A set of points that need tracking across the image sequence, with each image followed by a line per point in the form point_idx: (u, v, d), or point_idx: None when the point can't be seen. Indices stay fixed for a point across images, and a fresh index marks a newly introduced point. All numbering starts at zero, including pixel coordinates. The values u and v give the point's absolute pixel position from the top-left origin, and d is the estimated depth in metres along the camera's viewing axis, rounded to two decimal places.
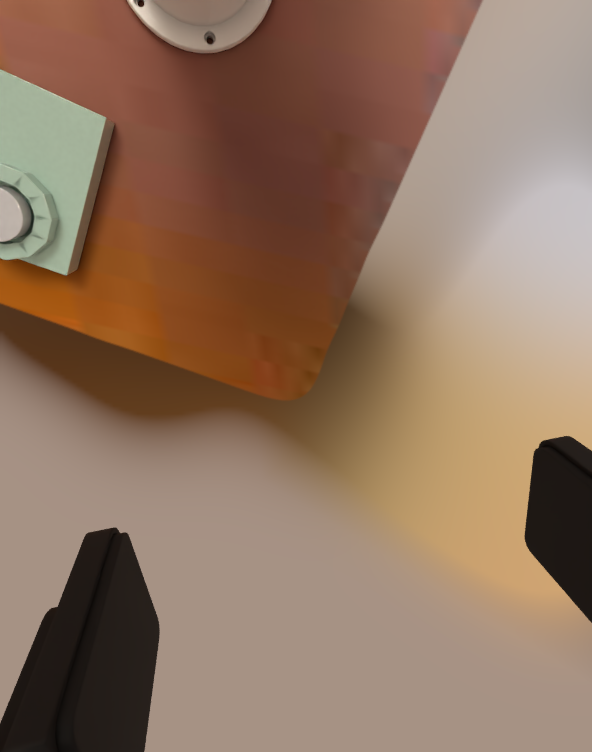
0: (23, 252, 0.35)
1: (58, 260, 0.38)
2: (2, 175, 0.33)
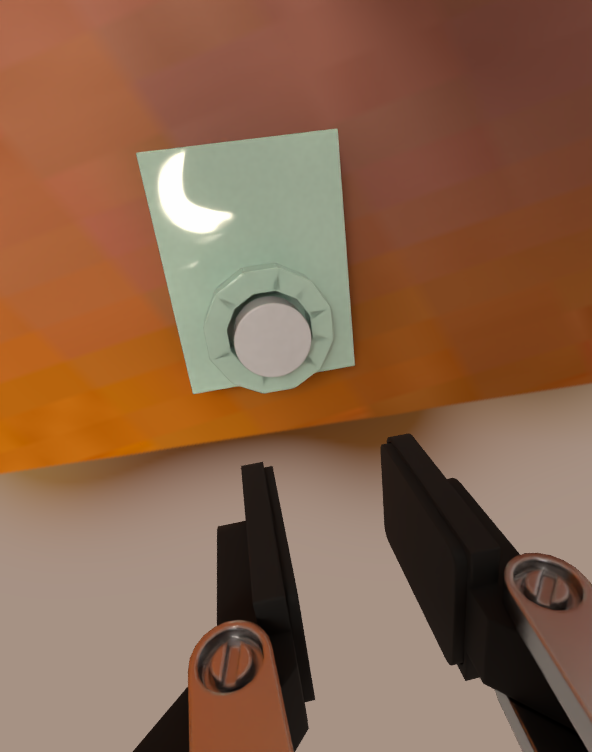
0: (311, 367, 0.25)
1: (339, 352, 0.27)
2: (255, 285, 0.23)
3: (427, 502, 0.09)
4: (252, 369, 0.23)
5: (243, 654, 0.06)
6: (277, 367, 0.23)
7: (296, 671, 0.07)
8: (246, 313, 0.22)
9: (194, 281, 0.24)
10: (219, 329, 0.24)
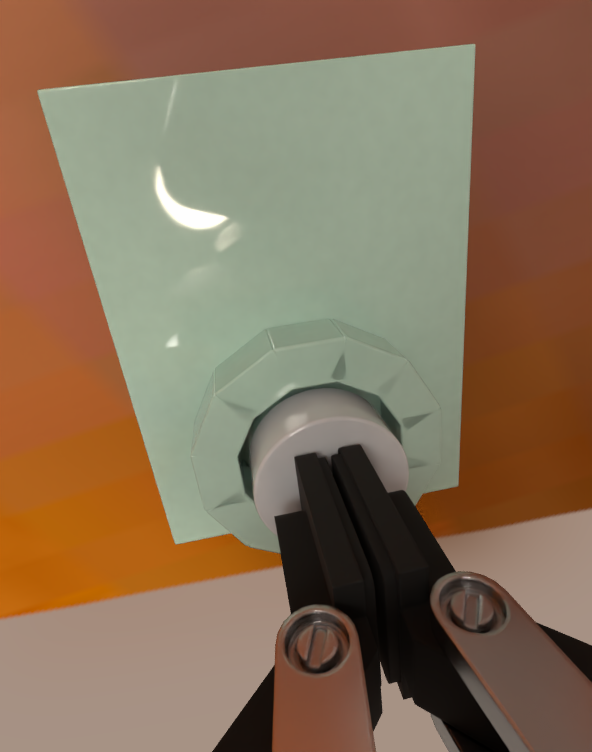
0: None
1: None
2: (298, 374, 0.11)
3: (365, 517, 0.08)
4: None
5: (328, 637, 0.07)
6: None
7: (377, 654, 0.07)
8: (280, 437, 0.10)
9: (173, 355, 0.12)
10: (223, 457, 0.12)
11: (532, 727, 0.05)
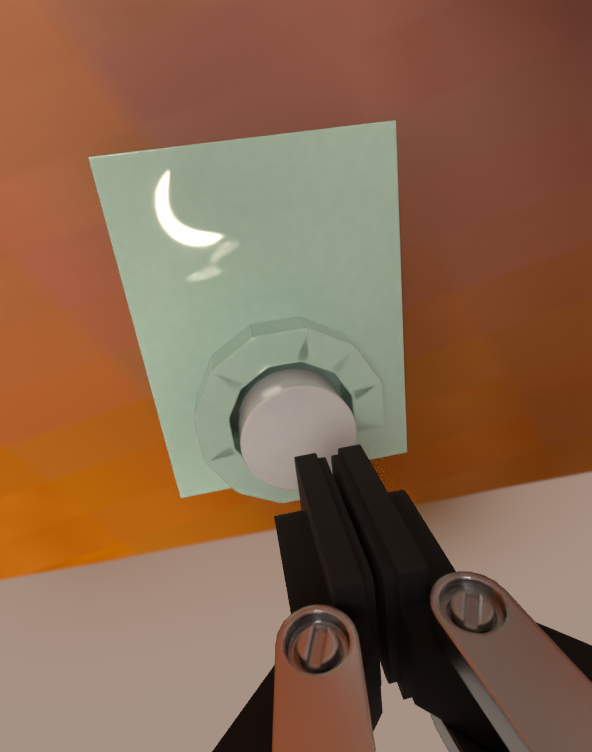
0: None
1: (387, 436, 0.19)
2: (272, 355, 0.15)
3: (365, 517, 0.08)
4: (267, 481, 0.15)
5: (327, 637, 0.07)
6: None
7: (376, 654, 0.07)
8: (259, 401, 0.14)
9: (181, 344, 0.16)
10: (218, 419, 0.16)
11: (532, 727, 0.05)
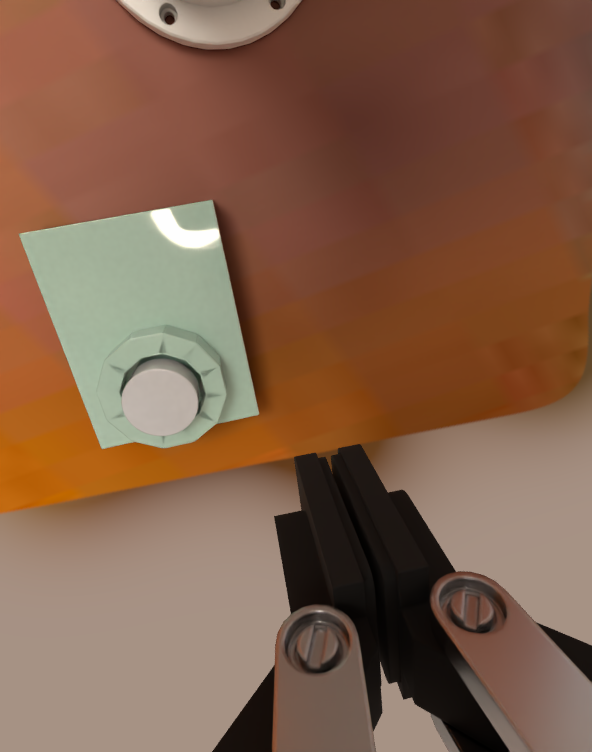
0: (208, 422, 0.26)
1: (242, 403, 0.28)
2: (142, 350, 0.24)
3: (365, 517, 0.08)
4: (142, 430, 0.24)
5: (328, 637, 0.07)
6: (167, 426, 0.24)
7: (377, 654, 0.07)
8: (130, 379, 0.23)
9: (89, 345, 0.25)
10: (112, 392, 0.25)
11: (532, 727, 0.05)
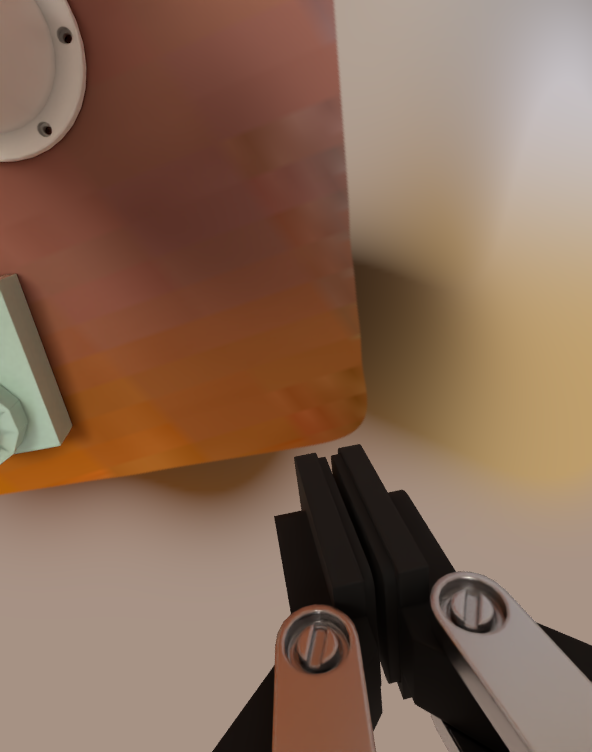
0: (5, 453, 0.33)
1: (44, 436, 0.35)
2: None
3: (365, 517, 0.08)
4: None
5: (327, 637, 0.07)
6: None
7: (377, 654, 0.07)
8: None
9: None
10: None
11: (532, 727, 0.05)
